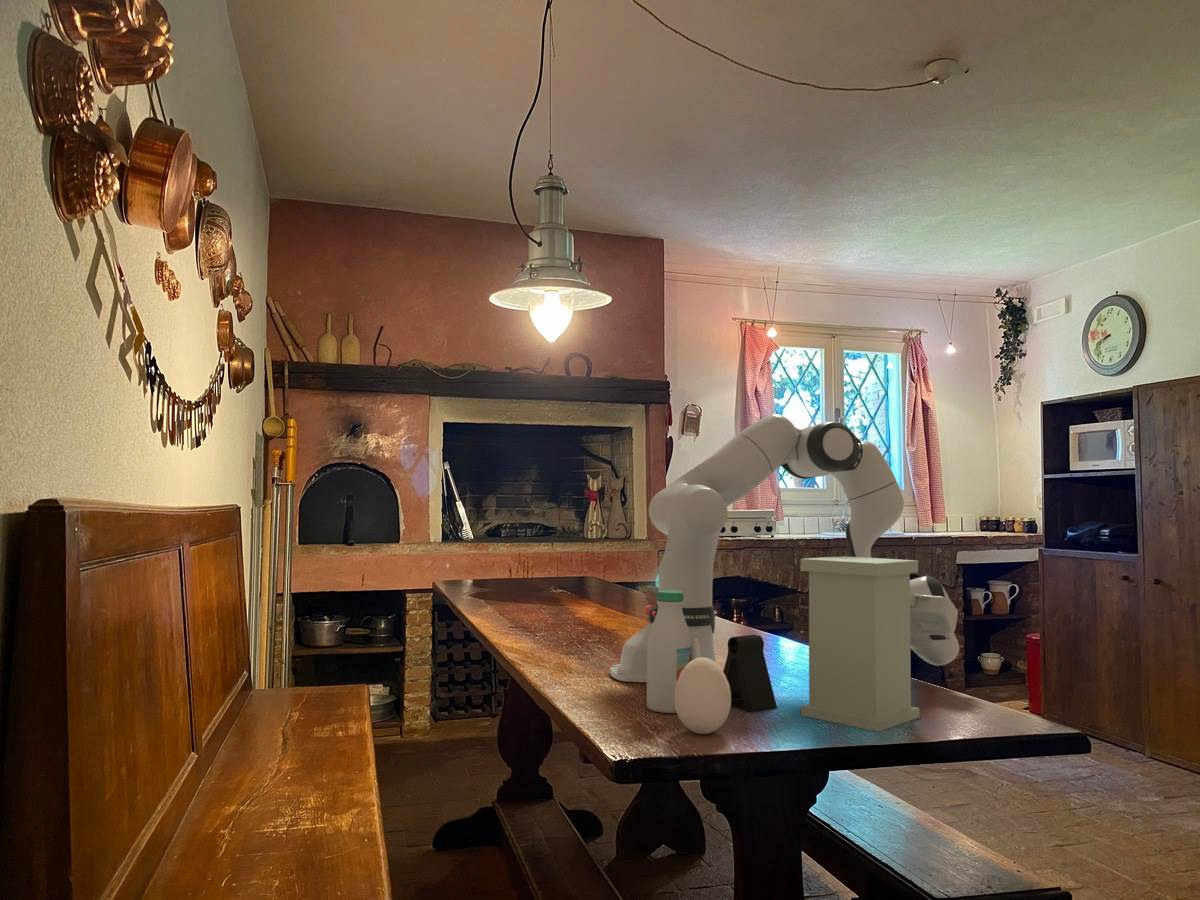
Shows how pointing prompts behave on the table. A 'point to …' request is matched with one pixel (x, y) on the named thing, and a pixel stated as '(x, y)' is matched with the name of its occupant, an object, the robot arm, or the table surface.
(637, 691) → the table surface
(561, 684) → the table surface
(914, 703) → the table surface
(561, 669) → the table surface
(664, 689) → the milk bottle
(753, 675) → the phone stand
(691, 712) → the egg
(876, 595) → the pedestal stand
